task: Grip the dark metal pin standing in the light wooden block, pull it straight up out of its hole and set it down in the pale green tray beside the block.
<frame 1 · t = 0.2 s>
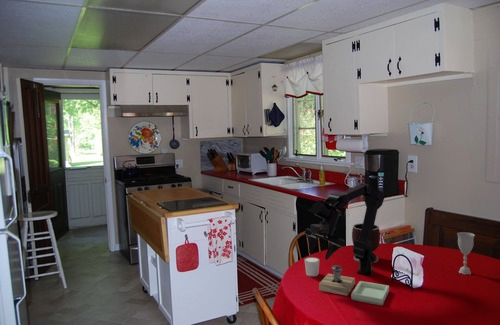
hand: (317, 256, 168), 14 cm above the table, tool tilted 30°, fingers open, 9 cm apart
cup: (312, 274, 187), on the table
tray: (370, 295, 162), on the table
pin: (337, 277, 170), in the hole block
hole block: (337, 287, 171), on the table
mate gourd: (366, 258, 205), on the table
chalice: (465, 272, 182), on the table
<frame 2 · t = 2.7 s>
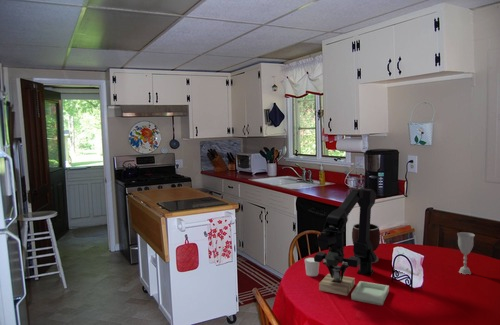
hand: (337, 278, 170), 4 cm above the table, tool pointing down, fingers closed on pin, 4 cm apart
pin: (337, 277, 170), in the hole block, touching gripper
everything else where it was.
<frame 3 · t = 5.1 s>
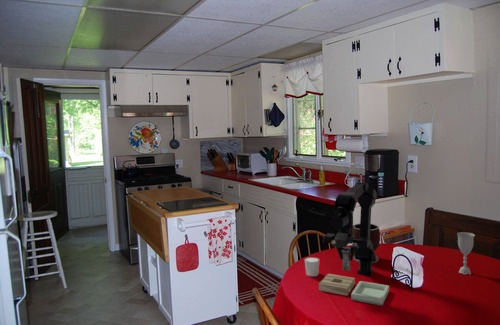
hand: (346, 260, 167), 13 cm above the table, tool pointing down, fingers closed on pin, 4 cm apart
pin: (346, 259, 167), point 13 cm above the table, touching gripper
everything else where it was.
when the fingers open (6 cm above the table, at t = 7.7 s): pin drops 1 cm, resting on tray.
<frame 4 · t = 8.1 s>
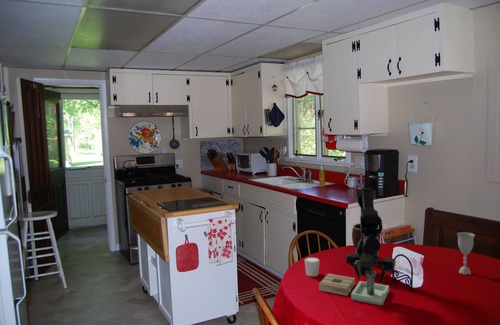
hand: (370, 281, 161), 6 cm above the table, tool pointing down, fingers open, 8 cm apart
pin: (370, 283, 161), in the tray, point 5 cm above the table
everything else where it was.
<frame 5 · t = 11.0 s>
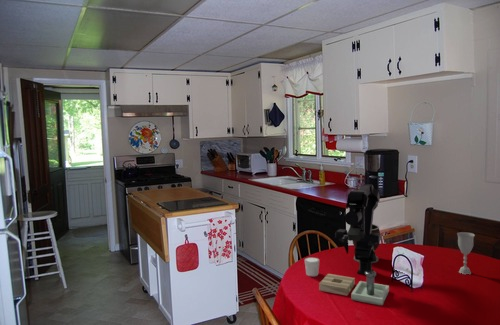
hand: (357, 254, 173), 13 cm above the table, tool pointing down, fingers open, 9 cm apart
nothing on the table moved.
at the end: pin inside the target area on the tray (0.0 cm from its centre), point 5.3 cm above the tray's base; the gripper is holding nothing; pin moved 14.6 cm from its start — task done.
